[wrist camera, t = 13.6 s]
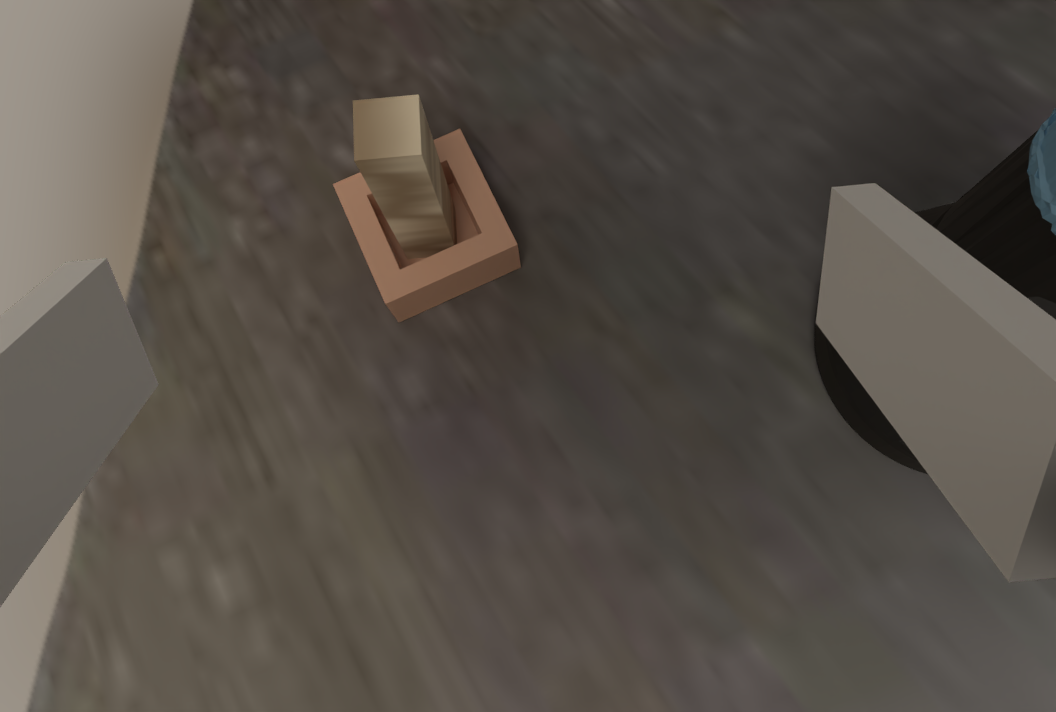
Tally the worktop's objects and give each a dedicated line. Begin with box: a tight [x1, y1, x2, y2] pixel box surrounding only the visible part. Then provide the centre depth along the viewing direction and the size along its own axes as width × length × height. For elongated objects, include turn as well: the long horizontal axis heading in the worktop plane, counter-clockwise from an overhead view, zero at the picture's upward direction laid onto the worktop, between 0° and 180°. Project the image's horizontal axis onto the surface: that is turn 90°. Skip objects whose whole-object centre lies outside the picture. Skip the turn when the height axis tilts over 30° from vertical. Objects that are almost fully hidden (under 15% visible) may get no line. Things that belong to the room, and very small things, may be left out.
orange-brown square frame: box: [333, 129, 521, 322], centre depth 45 cm, size 8×8×4 cm
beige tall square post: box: [353, 95, 457, 259], centre depth 40 cm, size 3×3×12 cm
